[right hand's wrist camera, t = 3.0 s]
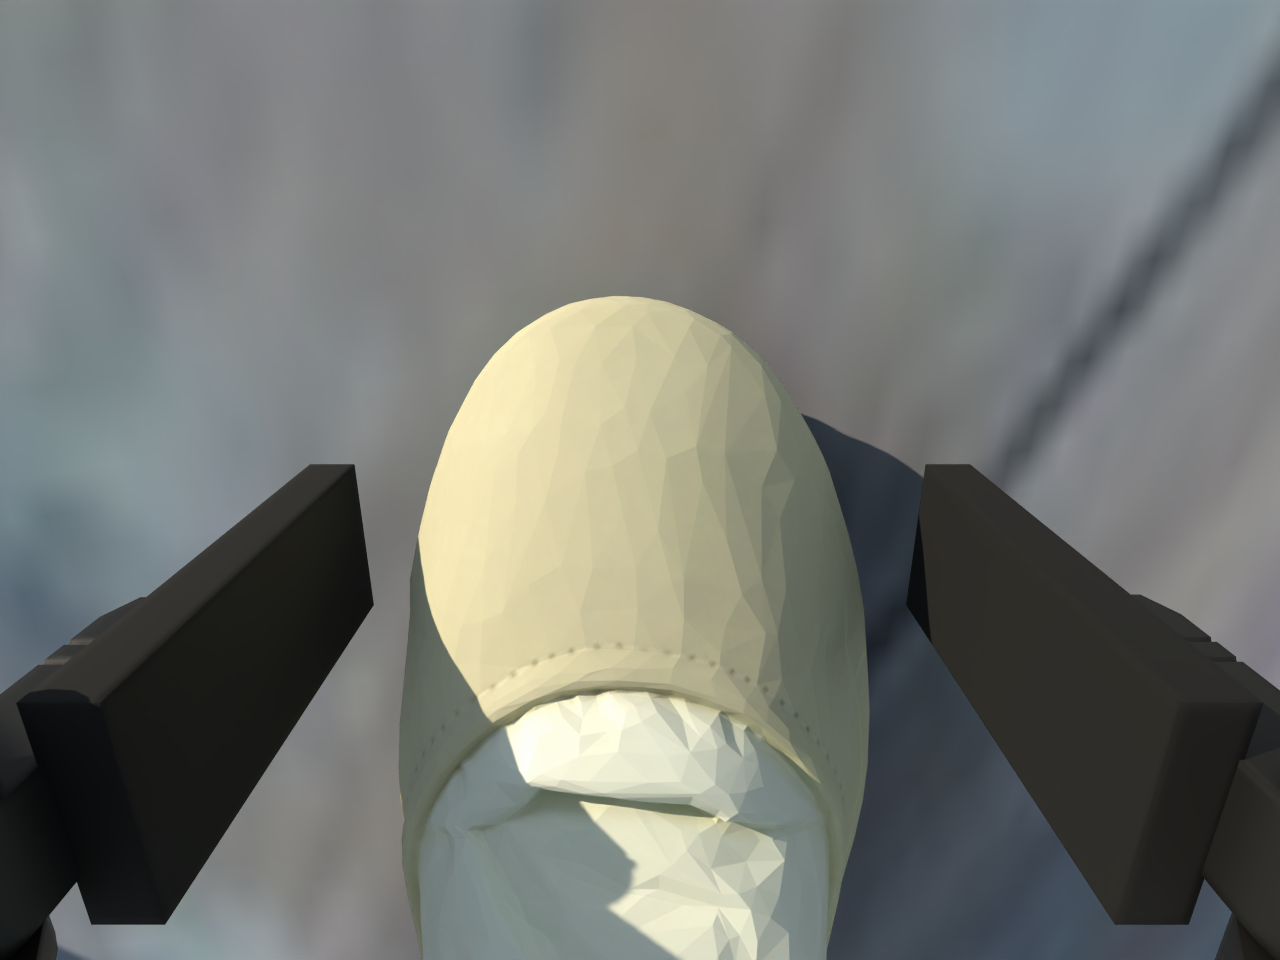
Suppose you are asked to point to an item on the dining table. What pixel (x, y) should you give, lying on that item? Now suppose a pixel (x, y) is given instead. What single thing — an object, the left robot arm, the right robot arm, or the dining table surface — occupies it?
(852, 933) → the dining table surface
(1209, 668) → the right robot arm
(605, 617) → the ballet flat
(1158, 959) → the dining table surface
